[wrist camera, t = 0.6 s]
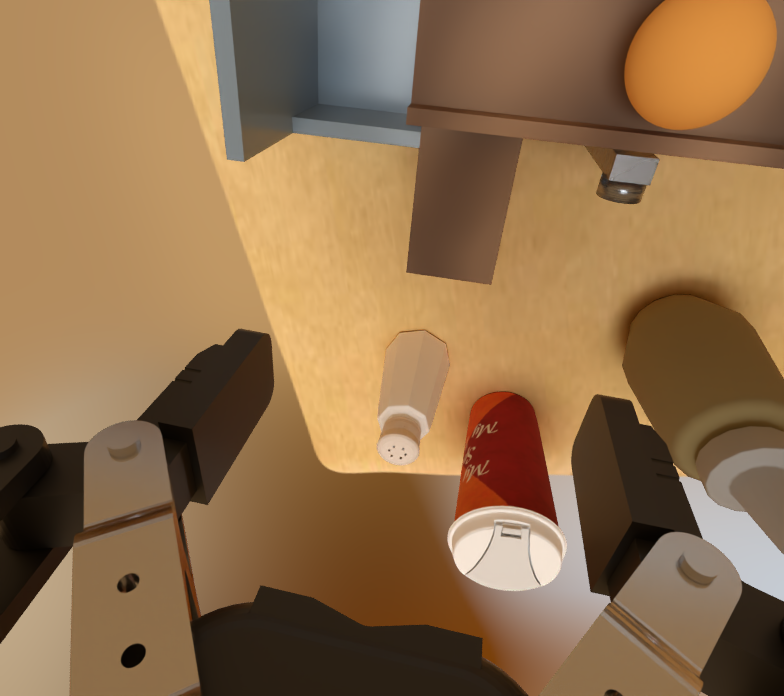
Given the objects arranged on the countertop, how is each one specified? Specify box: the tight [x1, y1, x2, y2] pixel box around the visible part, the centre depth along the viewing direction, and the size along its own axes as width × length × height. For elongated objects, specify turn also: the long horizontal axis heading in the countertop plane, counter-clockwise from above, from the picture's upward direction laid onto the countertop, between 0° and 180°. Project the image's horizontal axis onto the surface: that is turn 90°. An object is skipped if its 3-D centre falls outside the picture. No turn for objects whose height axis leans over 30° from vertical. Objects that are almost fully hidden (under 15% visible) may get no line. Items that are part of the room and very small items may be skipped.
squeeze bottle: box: [622, 295, 784, 554], centre depth 28 cm, size 8×8×18 cm
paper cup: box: [448, 392, 567, 591], centre depth 37 cm, size 8×8×14 cm
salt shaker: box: [377, 330, 450, 465], centre depth 36 cm, size 5×5×11 cm
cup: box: [209, 0, 421, 162], centre depth 23 cm, size 11×11×12 cm
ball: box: [624, 0, 777, 130], centre depth 15 cm, size 4×4×4 cm
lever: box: [406, 0, 784, 285], centre depth 18 cm, size 17×13×4 cm
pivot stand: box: [584, 145, 660, 204], centre depth 22 cm, size 5×10×12 cm, turn 176°
